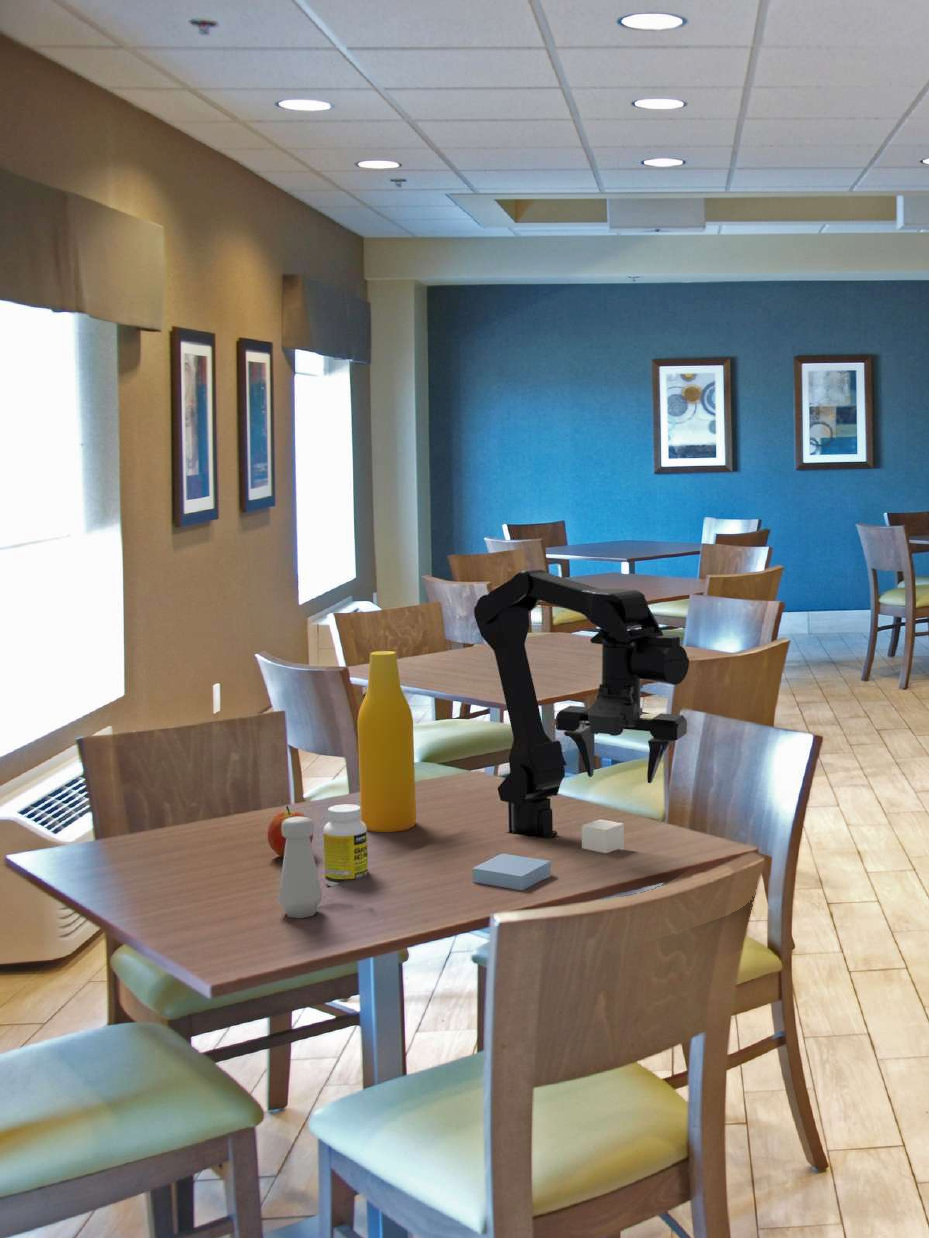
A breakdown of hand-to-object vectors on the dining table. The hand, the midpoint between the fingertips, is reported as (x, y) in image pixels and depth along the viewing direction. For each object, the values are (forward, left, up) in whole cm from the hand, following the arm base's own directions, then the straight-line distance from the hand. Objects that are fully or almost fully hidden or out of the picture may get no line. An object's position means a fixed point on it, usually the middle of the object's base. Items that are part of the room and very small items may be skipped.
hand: (620, 779), depth 204 cm
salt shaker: (-19, -47, -12) cm, 52 cm away
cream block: (-3, -1, -12) cm, 13 cm away
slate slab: (-4, -21, -11) cm, 24 cm away
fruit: (-41, -30, -12) cm, 52 cm away
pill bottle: (-24, -34, -12) cm, 43 cm away
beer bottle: (-42, -8, -12) cm, 44 cm away
